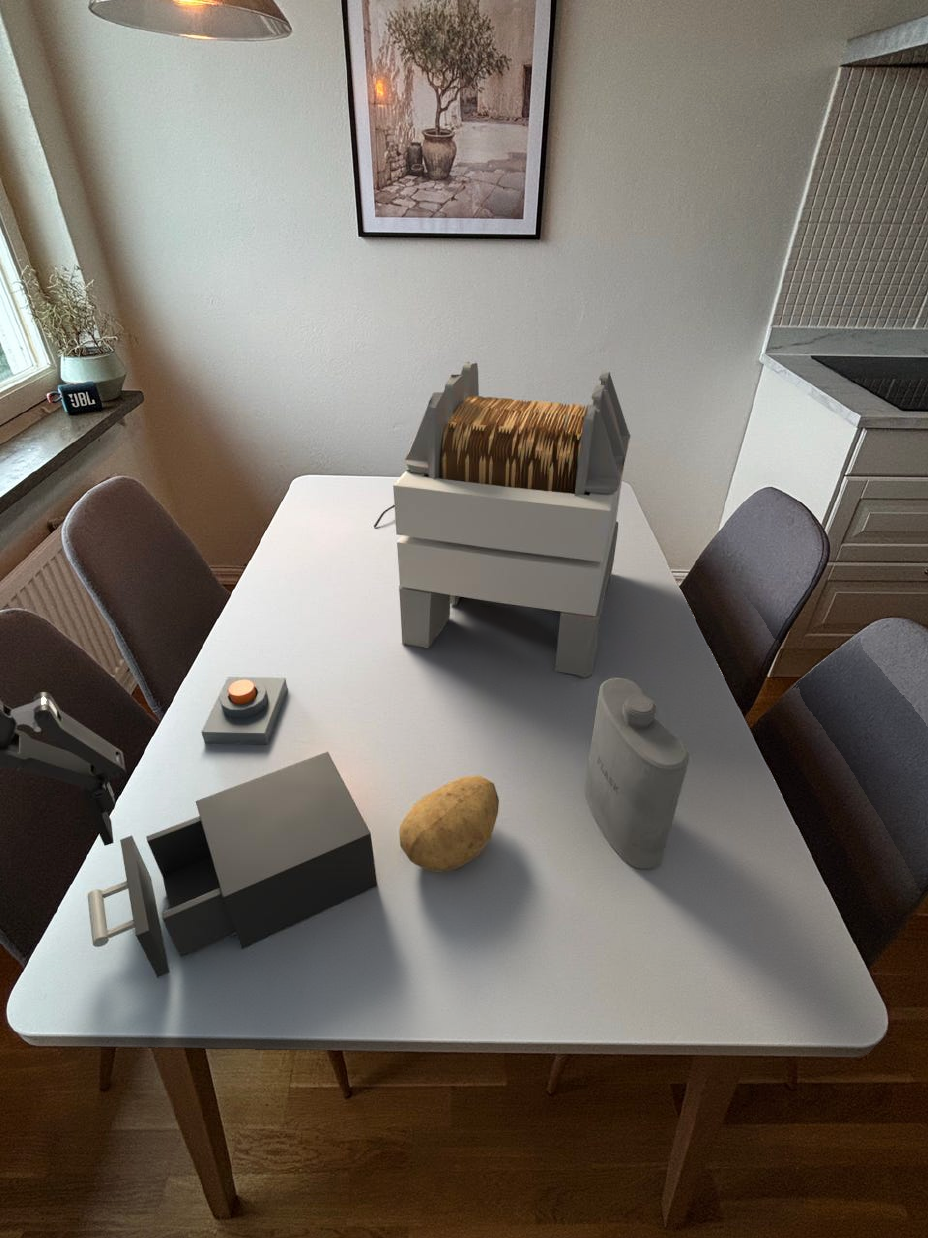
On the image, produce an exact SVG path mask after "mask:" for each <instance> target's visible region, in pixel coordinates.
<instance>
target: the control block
mask: <svg viewBox="0 0 928 1238" xmlns="http://www.w3.org/2000/svg"><path fill="white" fill-rule="evenodd" d="M239 680H250V681H252V682H253V684H254V687H255V691H256V697H255V698H254V699H253V700H252V701H251V702H248V703H245V704H235V703H233V702H232V701H231V698H230V695H229V687H230V685H231V684H233V683H234V682H236V681H239ZM287 691H288V683H287V678H286V677H252V676H251V677H250V676H227V677H226V680H225V682H224V684H223V686H222V689H221V691H220V692H219V695H218V697H217V698H216V701H215V703H214V705H213V707H212V709H211V711H210V712H209V716H208V717H207V720H206V721H205V724H204V725H203V727H202V729H201V731H200V732H201V735H202V738H203V742H204V744H227V745H228V744H231V745H232V744H233V745H268V743H269V741H270V738H271V735H272V732H273V730H274V727H275V724H276V721H277V719H278V716H279V714H280V710H281V708H282V705H283V702H284V700H285V697H286V694H287Z"/></svg>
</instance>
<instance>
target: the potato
mask: <svg viewBox="0 0 928 1238" xmlns="http://www.w3.org/2000/svg"><path fill="white" fill-rule="evenodd" d="M499 806H500V799H499V795H498V792H497V789H496V786H495V783H494V782H492V781H491V780H489V779H487V778H485V777H484V776H482V775H469V776H461V777H459V778H457V779H455V780H452V781H450V782H448V783H446V784H444V785H442V786H440V787H438V788H437V789H434V790H433V791H431V792H430V793H428V794H427V795H425V796H423V797H422V798H421V799H420V800H418V801H417V802H416V803H414V804H413V806H412V807H411V808H410V809H409V811H408V813H406V815H405V817H404V819H403V820H402V822H401V824H400V826H399V831H398V834H399V845H400V848H401V850H402V851H403V853H404V854H405V855H406V856H407V858H408V860H409V861H410V862H411V863H413V864H414V865H416V866H419V867H420V868H422V869H424V870H426V871H428V872H437V873H438V872H439V873H446V872H450V871H452V870H456V869H459V868H461V867H462V866H464V865H466V864H468V863H469V862H471V861H472V860H473V859H475V858H476V857H478V856H479V855H480V854H481V852H482V851H483V849H484V848H485V846H486V845H487V844H488V843H489V842H490V840H491V839H492V835H493V833H494V828H495V825H496V821H497V819H498V814H499V808H500V807H499Z"/></svg>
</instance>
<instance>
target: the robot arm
mask: <svg viewBox="0 0 928 1238" xmlns="http://www.w3.org/2000/svg"><path fill="white" fill-rule="evenodd" d="M33 697H34V698H33V701H32V702H30V703H27V704H24V705H20V706H18V707H15V708H11V707H9V706H7V704H5V703H4V702H3V701H2V699H1V698H0V767H1V768H5V769H8V770H11V771H19V770H20V769H21V770H25V771H28V772H31V773H34V774H37V775H41V776H44V777H47V778H50V779H53V780H57V781H60V782H62V783H66V784H70V785H72V786H76V787H79V788H81V791H82V800H83V801H84V804H85V806H86V808H87V810H88V813H89V815H90V817H91V820H92V821H93V824H94V826H95V828H96V831H97V832H98V835H99V836H100V839H101V841H102V844H103V845H104V847H106V846H109V845H112V844H114V834H113V833H114V832H113V824H112V820H111V817H110V815H109V812H111V811H113V810H115V808H116V802H115V801H116V800H115V793H114V791H113V789H112V786H111V784H110V781H111V780H113V779H115V780H119V779H121V778H123V777H125V775H126V765H125V759H124V753H123V751H122V750H121V749H119V748H118V747H116V746H115V745H113V744H112V743H110V742H109V741H107V740H106V739H104V738H102V737H101V736H100V735H98V734H96V733H95V732H94V731H92V730H91V729H89V728H88V727H86V726H85V725H83V724H82V723H80V722H79V721H78V720H76V719H74V717H72V716H70V715H69V714H67V713H65V712H64V711H63V710H61V709H60V707H59V705H58V704H57V702H56V701H55V699H54V697H53V696H52V695H51V693H50V692H46V691H39V692H38V693H36V694H35V695H34V696H33ZM21 725H22V726H23V725H24V726H28V727H29V728H31V729H33V731H34V732H36V733H40V732H42V733H43V734H44V735H45V736H46V737H47V738H48V739H50V740H51V741H52V742H54V743H56V744H57V745H59V746H61V747H62V748H63V749H62V748H60V747H57V746H54V745H51V744H48V743H46V742H43V741H39V740H37V739H34V738H31V737H30V736H29V734H27V733H26V732H25V731H22V730H19V729H17V728H18V726H21ZM8 748H9V749H8Z"/></svg>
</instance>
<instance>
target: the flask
mask: <svg viewBox="0 0 928 1238" xmlns="http://www.w3.org/2000/svg"><path fill="white" fill-rule="evenodd" d="M656 713H657V705H656V702H654V700H653V699H651V698H650V697H648V696H646V695H644V692H643V690H642V688H641V687H640V686H639V685H638V684H637V683H636V682H635V681H633V680H631V679H628V678H623V677H612V678H609V679H606V680H604V681H603V682H602V683H600V686H599V690H598V696H597V703H596V711H595V718H594V723H593V730H592V738H591V745H590V751H589V758H588V763H587V772H586V778H585V784H584V793H585V799H586V801H587V804H588V807H589V810H590V812H591V814H592V817H593V819H594V820H595V822H596V824H597V826H598V828H599V830H600V831H601V833H602V834H603V837H605V839H606V841H607V842H608V843H609V844H610V845H611V847H612V848H613V850H614V851H615V852H616V853H617V854H618V855H619V857H620V858H622V860H624V861H625V862H626V863H628V864H629V865H630V866H632V867H634V868H636V869H637V868H638V869H641V870H650V869H653V868H656V867H658V866H659V865H660V863H661V862H662V861H663V858H664V854H665V851H666V846H667V843H668V839H669V836H670V832H671V827H672V825H673V820H674V816H675V814H676V809H677V806H678V802H679V799H680V795H681V791H682V787H683V783H684V780H685V776H686V773H687V769H688V765H689V762H690V752H689V750H688V748H687V746H686V745H684V744H683V742H681V741H680V740H679V739H678V738H677V737H676V736H674V734H673V733H671V732H670V731H669V730H668V729H667V728H666V727H665V726H664V724H663V723H662V722H661V721H660V720H659V718H658V717H657V715H656Z"/></svg>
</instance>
